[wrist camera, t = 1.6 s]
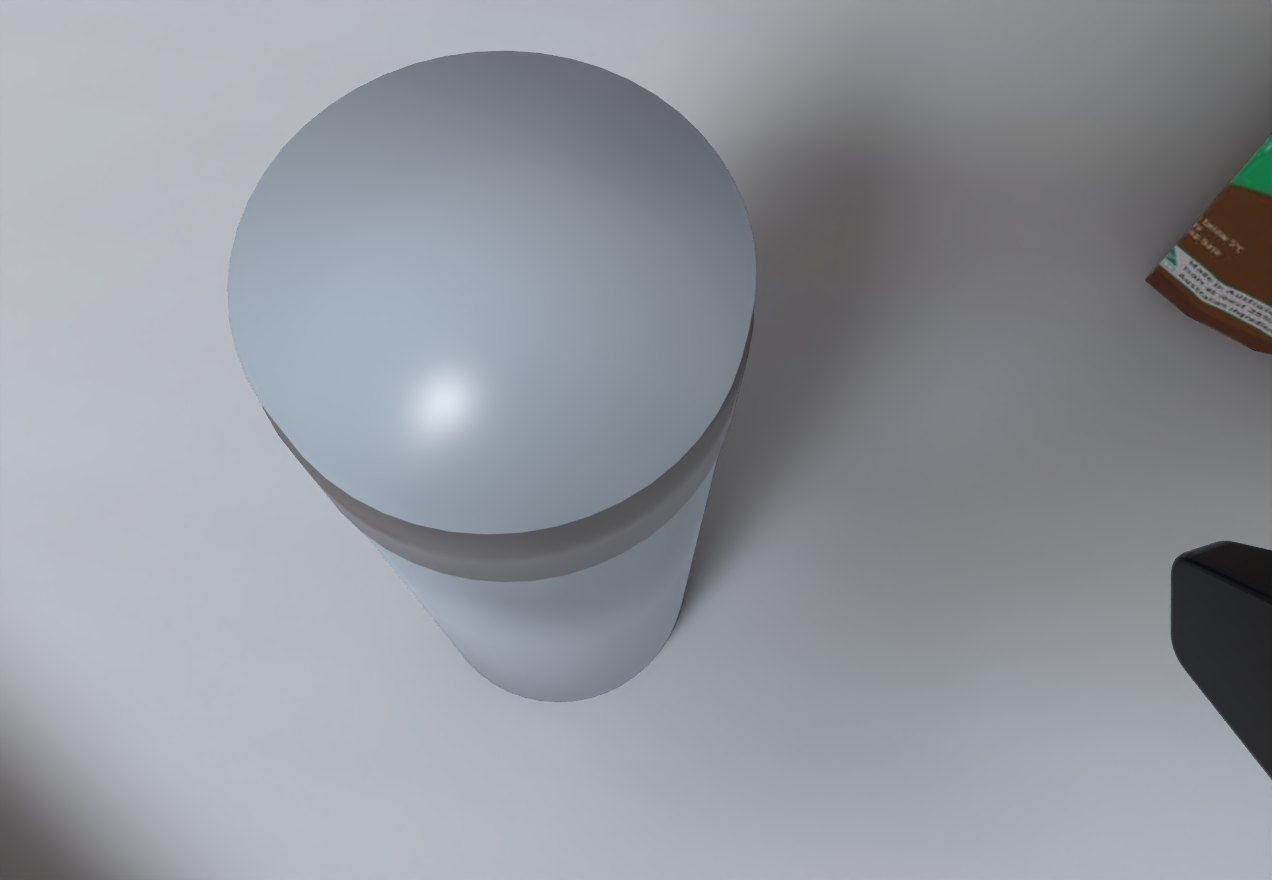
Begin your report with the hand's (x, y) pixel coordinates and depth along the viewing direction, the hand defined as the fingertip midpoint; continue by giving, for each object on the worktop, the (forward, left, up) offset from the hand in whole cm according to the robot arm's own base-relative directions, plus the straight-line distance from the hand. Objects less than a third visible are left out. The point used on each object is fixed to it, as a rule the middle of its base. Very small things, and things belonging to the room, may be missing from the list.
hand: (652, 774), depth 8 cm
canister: (+4, +2, -12) cm, 13 cm away
